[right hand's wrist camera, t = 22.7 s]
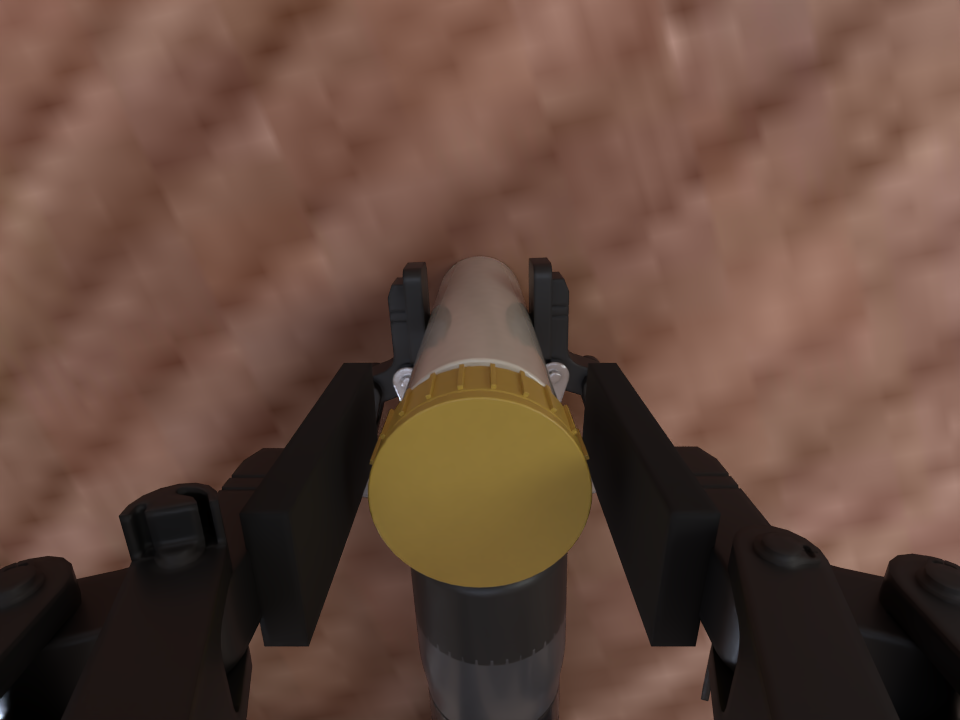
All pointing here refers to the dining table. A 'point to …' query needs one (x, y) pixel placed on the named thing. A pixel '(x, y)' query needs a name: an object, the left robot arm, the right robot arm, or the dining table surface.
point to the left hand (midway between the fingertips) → (476, 265)
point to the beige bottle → (480, 325)
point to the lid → (479, 478)
